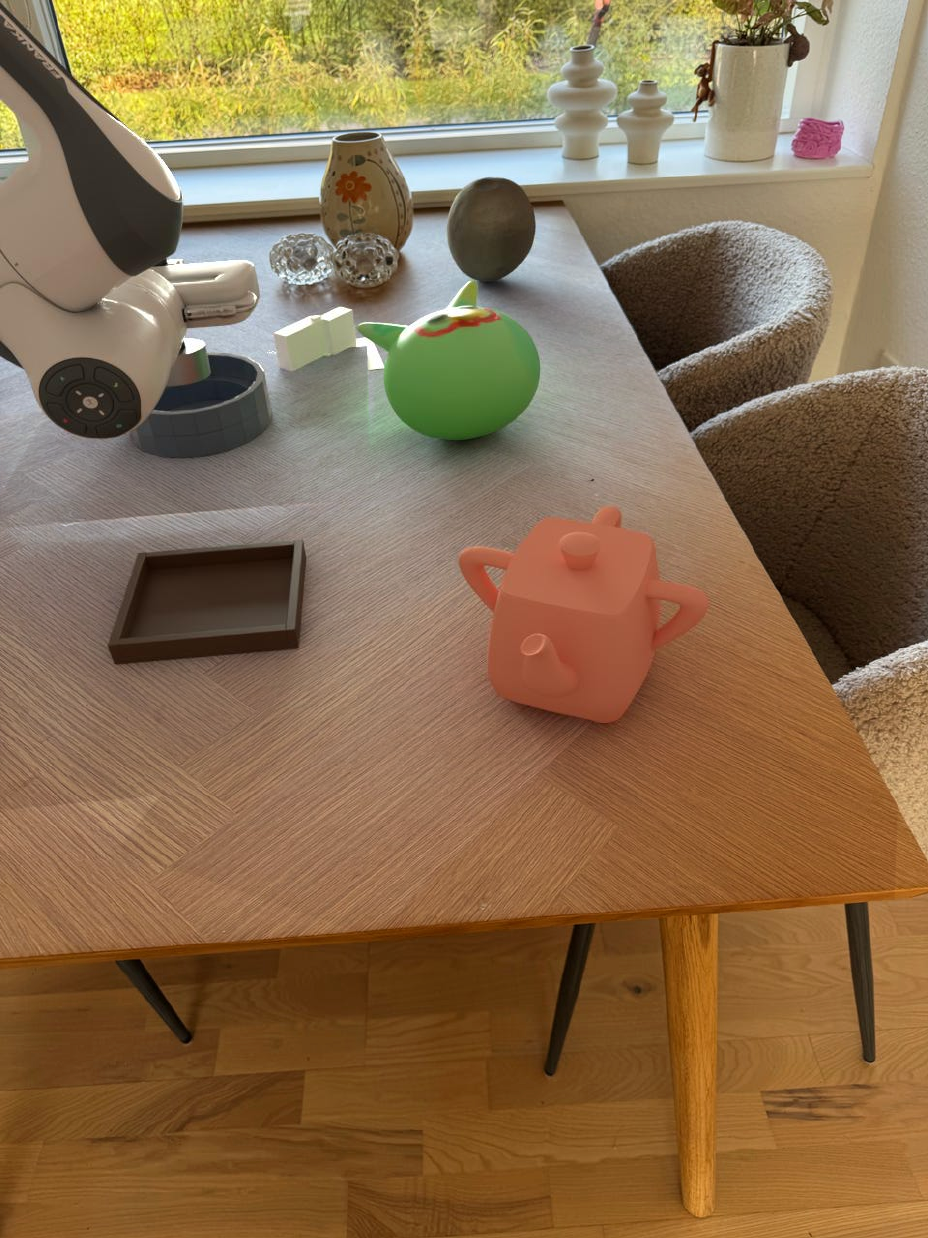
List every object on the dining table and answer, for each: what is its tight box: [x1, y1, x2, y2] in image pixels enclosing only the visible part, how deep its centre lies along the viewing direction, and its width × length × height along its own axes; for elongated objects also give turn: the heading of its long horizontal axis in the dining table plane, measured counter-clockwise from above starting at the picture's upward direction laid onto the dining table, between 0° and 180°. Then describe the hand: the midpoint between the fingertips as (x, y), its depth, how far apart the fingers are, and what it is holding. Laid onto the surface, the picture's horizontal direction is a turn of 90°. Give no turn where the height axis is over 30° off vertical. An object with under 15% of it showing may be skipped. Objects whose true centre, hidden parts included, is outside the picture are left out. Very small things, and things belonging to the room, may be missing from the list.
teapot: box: [457, 505, 710, 724], centre depth 70 cm, size 17×16×13 cm
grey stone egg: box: [446, 176, 537, 282], centre depth 142 cm, size 14×14×15 cm
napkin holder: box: [266, 306, 385, 372], centre depth 124 cm, size 15×11×6 cm
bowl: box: [129, 352, 273, 459], centre depth 110 cm, size 17×17×6 cm
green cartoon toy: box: [356, 280, 541, 441], centre depth 104 cm, size 18×17×15 cm
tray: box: [107, 539, 307, 665], centre depth 83 cm, size 16×14×2 cm
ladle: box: [152, 257, 211, 386], centre depth 90 cm, size 6×6×19 cm
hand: (159, 268), depth 90 cm, fingers closed on ladle, 2 cm apart
